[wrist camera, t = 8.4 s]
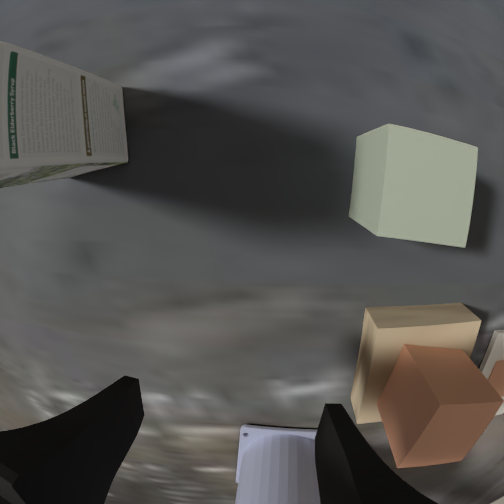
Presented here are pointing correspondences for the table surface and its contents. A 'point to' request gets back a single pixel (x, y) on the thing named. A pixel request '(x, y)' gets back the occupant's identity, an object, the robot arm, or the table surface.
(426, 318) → the birch block
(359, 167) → the sage green block
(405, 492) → the robot arm
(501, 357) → the card
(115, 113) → the syrup box
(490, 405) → the terracotta block
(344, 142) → the table surface
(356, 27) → the table surface
